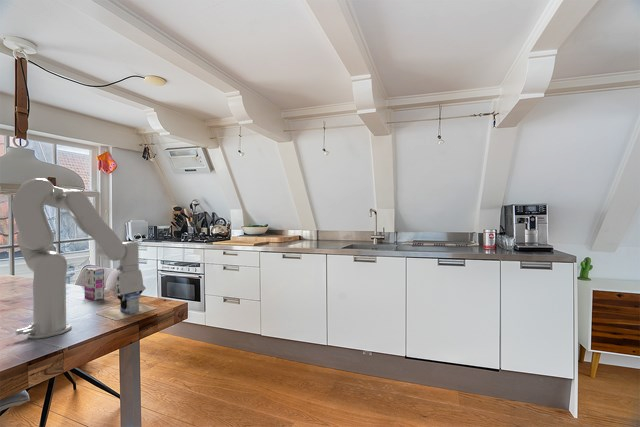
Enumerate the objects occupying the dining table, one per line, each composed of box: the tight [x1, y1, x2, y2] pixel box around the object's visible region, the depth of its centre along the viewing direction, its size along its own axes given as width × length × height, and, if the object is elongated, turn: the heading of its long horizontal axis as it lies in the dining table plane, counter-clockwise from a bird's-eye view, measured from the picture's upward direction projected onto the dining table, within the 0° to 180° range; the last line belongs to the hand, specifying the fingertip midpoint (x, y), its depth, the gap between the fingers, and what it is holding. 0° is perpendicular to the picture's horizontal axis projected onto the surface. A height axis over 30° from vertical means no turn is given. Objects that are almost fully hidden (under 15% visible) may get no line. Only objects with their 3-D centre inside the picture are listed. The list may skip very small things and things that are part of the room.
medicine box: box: [119, 293, 140, 314], centre depth 139 cm, size 8×4×9 cm, turn 62°
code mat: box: [96, 303, 158, 322], centre depth 140 cm, size 18×18×1 cm
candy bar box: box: [83, 266, 105, 302], centre depth 162 cm, size 11×5×16 cm, turn 60°
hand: (129, 306), depth 139 cm, fingers closed on medicine box, 4 cm apart
